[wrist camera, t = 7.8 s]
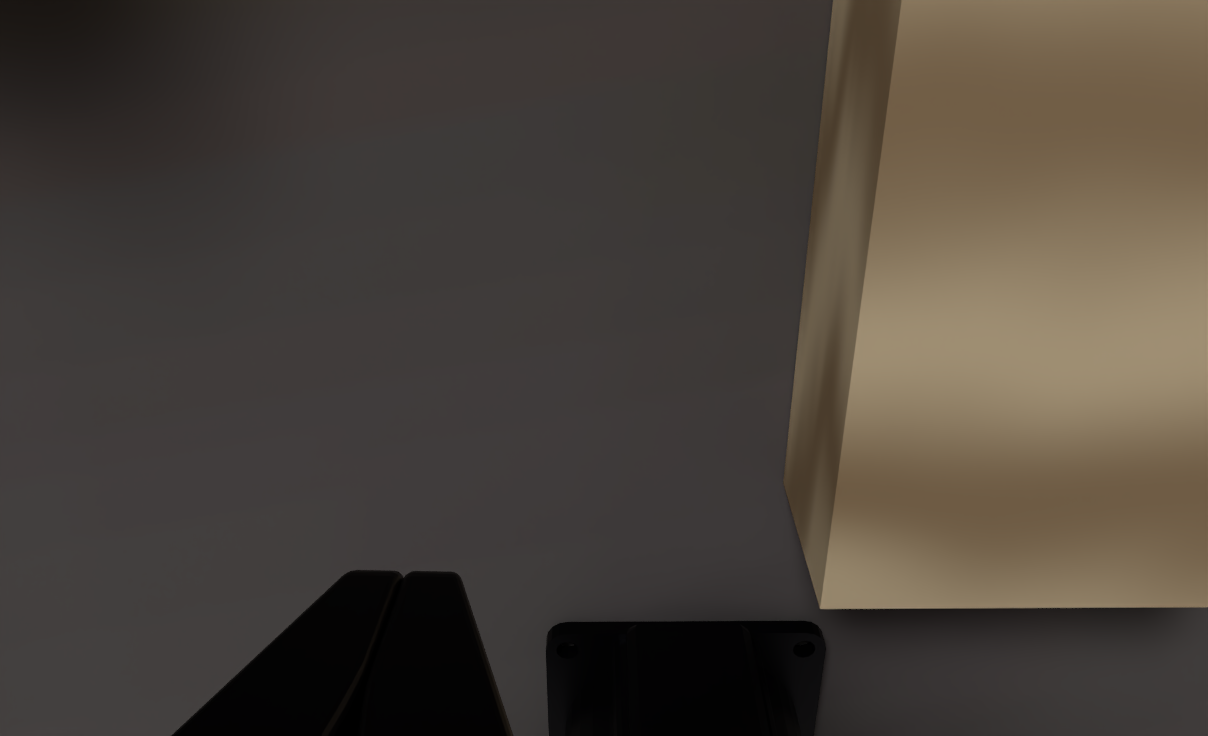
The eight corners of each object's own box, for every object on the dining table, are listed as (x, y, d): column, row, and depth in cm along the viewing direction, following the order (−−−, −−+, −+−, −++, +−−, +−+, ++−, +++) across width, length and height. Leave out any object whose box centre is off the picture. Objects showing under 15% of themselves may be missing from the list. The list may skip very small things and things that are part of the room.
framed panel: (1149, 481, 22) (1257, 607, 18) (783, 483, 22) (819, 608, 18) (1499, -641, 13) (1829, -814, 10) (900, -644, 13) (1011, -820, 10)
